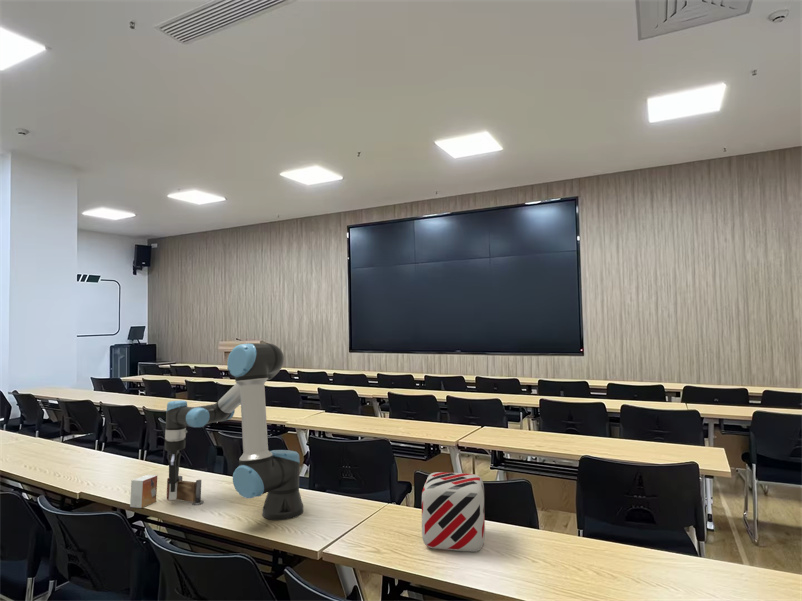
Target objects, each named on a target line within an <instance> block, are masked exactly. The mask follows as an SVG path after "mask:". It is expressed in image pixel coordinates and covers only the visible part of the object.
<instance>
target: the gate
mask: <svg viewBox="0 0 802 601" xmlns="http://www.w3.org/2000/svg"><path fill="white" fill-rule="evenodd" d="M166 480H167V481H166V500H167V501H170V500H169V485H170V484H167V483H168V482H169V477H168V478H167V479H166ZM195 497H196V481H187V480H182V481H181V480H180V481H177V499H176V500H177V501H185V502H191V503H192V502H194V501H195ZM176 500H175V501H176Z"/></svg>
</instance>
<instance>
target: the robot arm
mask: <svg viewBox="0 0 802 601" xmlns="http://www.w3.org/2000/svg"><path fill="white" fill-rule="evenodd" d="M284 361H285V355H284V353H283V351H282V349H281V348H280V347H279V346H277V345H276V344H273V343H267V342H266V343H252V342H251V343H247V342H246V343H241V344H238V345H236V346H235V347H233V348H232V350H231V351H230V352H229V354H228V357H227V370H228V371H229V374H230V375H231V376H233V377H234V381H235V384H234V385H232V387H230V389H229V390H227V392H226V393H225V394H223V396H222V397H220V399H219V400H218V401H217V402H215V403H213V404H212V403H211V404H207V405H201V406H200V405H198V406H188V402H187V400H172V401H171V400H170V401H168V402H167V404H166V410H165V413H166V415H165V418H166V419H165V430H164V431H165V433H164V434H165V435H164V439H165V442H164V450H165V451H167V452H170V453H169V455H168V478H169V482H168V483H167V482H166V485H167V484H170V485H169V500H168V501H176V499H177V481H180V479H178V478H179V476H180V475H179V474H180V473H179V472H180V463H181V456H182V453H181V452H180V451H182V450H185V449H186V443H187V442H186V435H187V433H188V432H189V431H188V430H187V427H191V428H203V427H204V426H206V425H209V424H212V423H213V424H214V423H218V422H225V421H228V420H231V419H232V418H233V417H234V415H235V411H236V409H237V408H238V407H239V406H240V413H241V429H242V430H241V432H242V434H241V435H242V450H243V451H242V452H243V453H242V455H241V456H240V457H239V460H238V463H239V465H238V466H237V468H235V470H234V471H233V474H232V483H233V486H234V490H235V491H236V492H237V493H238V494H239V495H240V497H242V498H245V499H254V498H257V497H258V498H259V497H261V496H262V495H264V494H266V498H265V500H264V503H263V507H262V517H263V518H265V519H267V520H270V521H273V520H274V521H286V520H291V519H294V518H297V517H299V516H301V515H302V514H303V513H304V504H303V500H302V497H301V493H300V467H301V466H300V464H301V461H300V454H299V453H298V452H297V451H295V450H287V449H273V450H269V445H268V444H269V442H268V426H267V424H268V423H267V406H266V391H265V390H266V388H265V384H266V382H267V381H269V380H272V379H273V378H275V376H276V375H277V374H278V373H280V370H282V368H283V366H284V363H285V362H284ZM178 475H179V476H178Z"/></svg>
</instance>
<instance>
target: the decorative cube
mask: <svg viewBox="0 0 802 601" xmlns="http://www.w3.org/2000/svg"><path fill="white" fill-rule="evenodd" d="M484 485H485V484H484V482H483V479H482V477H481V476H479V475H477V474H473V473H462V472H461V473H460V472H445V471H440V472H439V471H438V472H432V473H430V474H428V476H427V479H426V481H425V482H424V486H423V488H422V491H421V536H422V541H423V543H424V544H425V546H427V547H428V548H431V549H435V550H446V551H458V552H459V551H460V552H477V551H480V550H481V549H482V548H483V546H484V544H485V537H486V536H485V535H486V527H485V525H486V524H485V520H486V518H485V516H486V515H485V511H486V510H485V486H484Z"/></svg>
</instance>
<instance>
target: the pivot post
mask: <svg viewBox="0 0 802 601" xmlns="http://www.w3.org/2000/svg"><path fill="white" fill-rule="evenodd" d="M195 482H196V497H195V501H194V502H191V505H192V506H200V505H203V504H205V500H203V499H202V479H197V480H195Z"/></svg>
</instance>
